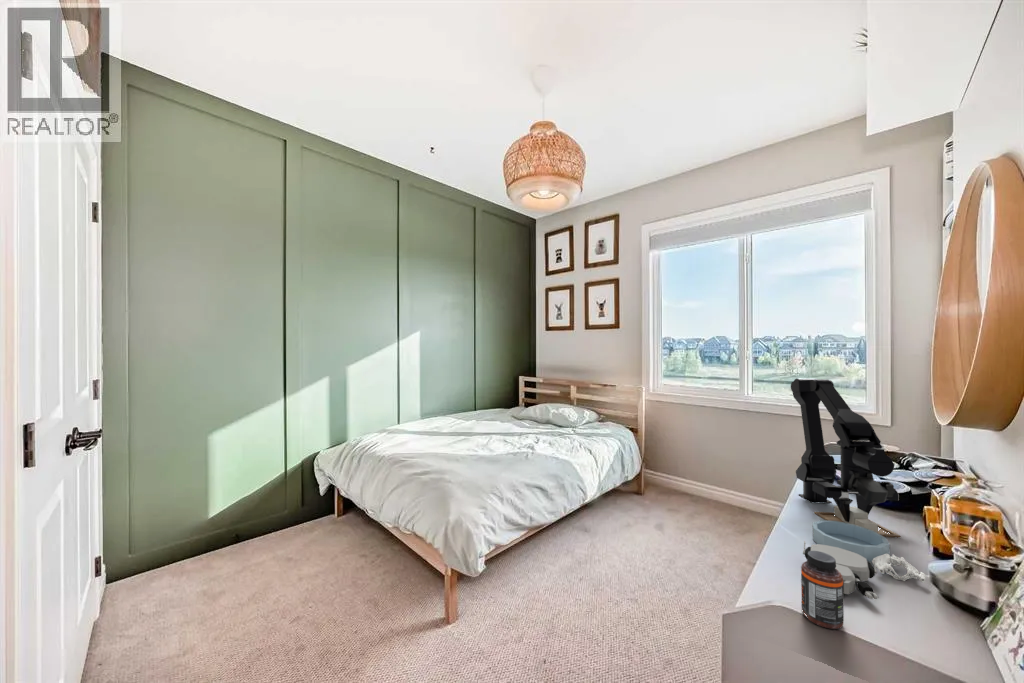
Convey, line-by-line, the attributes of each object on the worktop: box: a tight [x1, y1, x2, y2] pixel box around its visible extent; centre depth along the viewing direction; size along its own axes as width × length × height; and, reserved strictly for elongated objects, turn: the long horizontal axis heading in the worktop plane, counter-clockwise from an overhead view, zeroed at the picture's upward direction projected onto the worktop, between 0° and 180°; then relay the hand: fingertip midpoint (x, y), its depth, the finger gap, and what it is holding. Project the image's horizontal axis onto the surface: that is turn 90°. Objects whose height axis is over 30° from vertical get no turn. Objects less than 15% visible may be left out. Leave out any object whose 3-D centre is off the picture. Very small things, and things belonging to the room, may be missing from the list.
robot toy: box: [802, 540, 879, 600], centre depth 83 cm, size 12×4×15 cm
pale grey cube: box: [855, 518, 879, 533], centre depth 104 cm, size 3×3×3 cm
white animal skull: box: [871, 553, 927, 583], centre depth 84 cm, size 8×4×7 cm
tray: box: [813, 511, 902, 539], centre depth 109 cm, size 14×12×1 cm
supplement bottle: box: [800, 551, 845, 630], centre depth 71 cm, size 6×6×11 cm
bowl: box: [811, 519, 891, 562], centre depth 96 cm, size 14×14×4 cm
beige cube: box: [842, 506, 869, 525], centre depth 109 cm, size 4×4×4 cm
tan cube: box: [833, 505, 842, 519], centre depth 113 cm, size 3×3×3 cm
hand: (854, 521), depth 109 cm, fingers closed on beige cube, 4 cm apart
